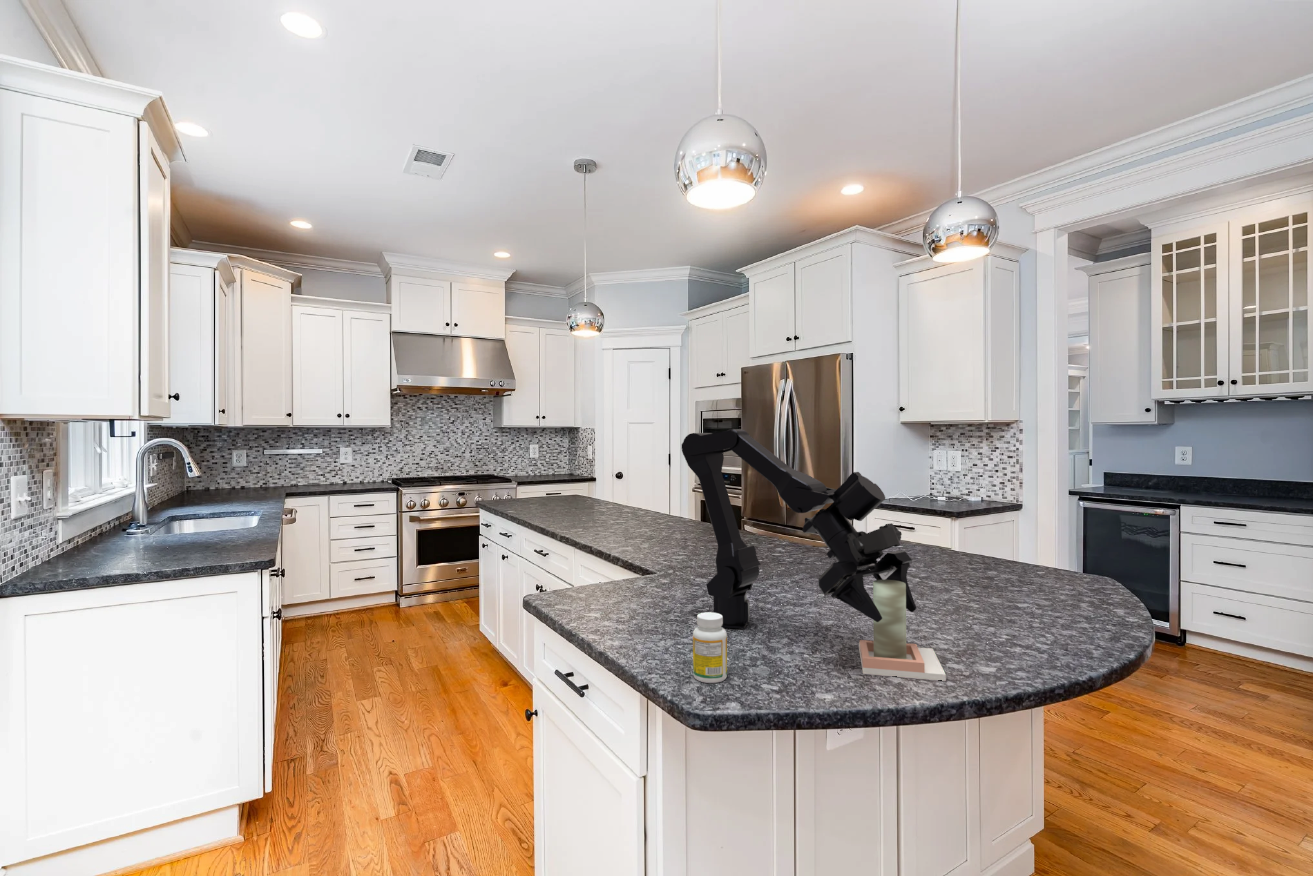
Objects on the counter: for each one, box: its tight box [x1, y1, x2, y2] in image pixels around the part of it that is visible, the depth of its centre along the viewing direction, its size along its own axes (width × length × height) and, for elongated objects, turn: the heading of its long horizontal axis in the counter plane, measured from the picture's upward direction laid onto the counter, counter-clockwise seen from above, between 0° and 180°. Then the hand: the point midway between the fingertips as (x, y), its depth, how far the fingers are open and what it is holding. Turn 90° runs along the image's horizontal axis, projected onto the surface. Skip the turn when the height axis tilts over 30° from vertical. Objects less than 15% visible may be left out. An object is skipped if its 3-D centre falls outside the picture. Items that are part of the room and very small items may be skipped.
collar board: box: [858, 639, 947, 682], centre depth 102 cm, size 12×12×2 cm
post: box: [872, 579, 907, 659], centre depth 101 cm, size 5×5×12 cm
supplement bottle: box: [692, 611, 728, 684], centre depth 97 cm, size 5×5×10 cm
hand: (897, 615), depth 99 cm, fingers open, 9 cm apart
